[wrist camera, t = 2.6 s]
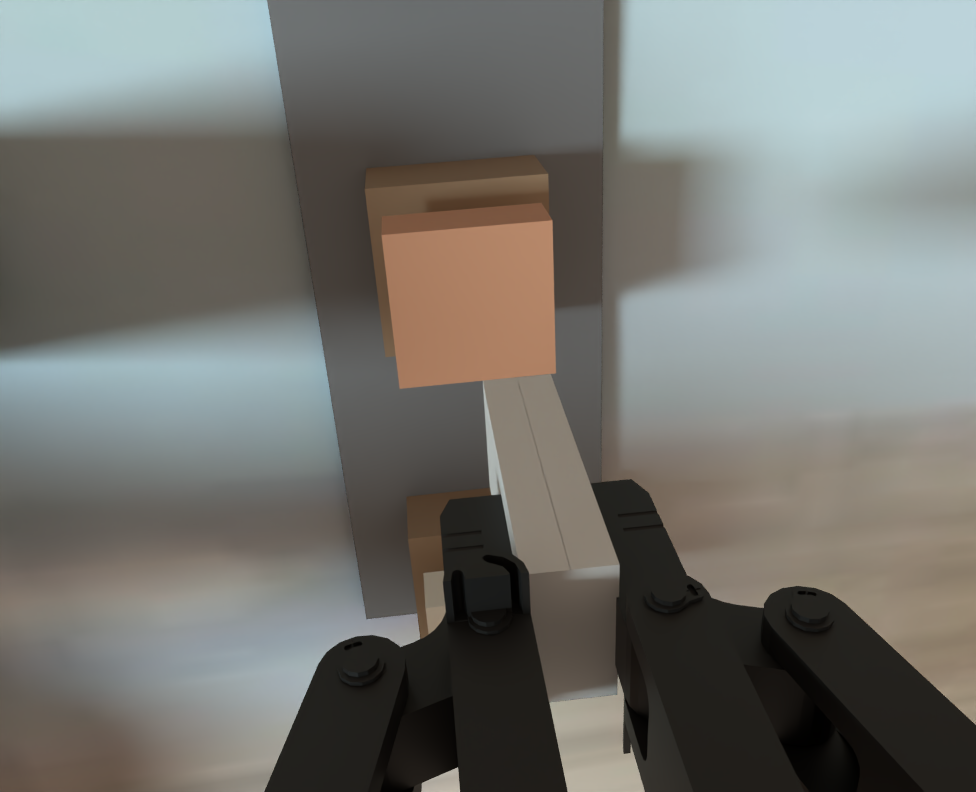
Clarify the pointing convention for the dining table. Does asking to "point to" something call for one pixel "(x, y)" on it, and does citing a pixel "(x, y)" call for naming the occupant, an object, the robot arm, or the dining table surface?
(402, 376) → the orange cube
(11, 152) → the dining table surface
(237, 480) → the dining table surface
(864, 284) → the dining table surface
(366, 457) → the button board
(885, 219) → the dining table surface
